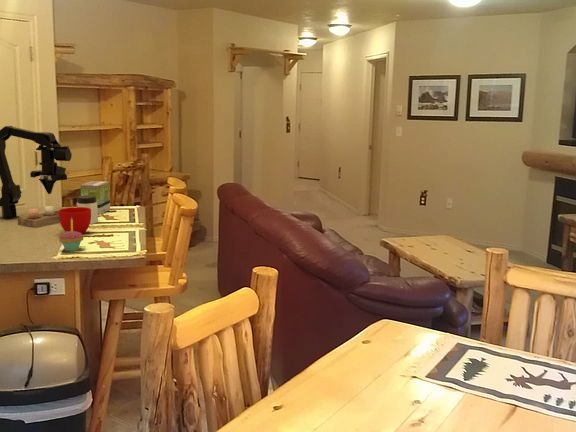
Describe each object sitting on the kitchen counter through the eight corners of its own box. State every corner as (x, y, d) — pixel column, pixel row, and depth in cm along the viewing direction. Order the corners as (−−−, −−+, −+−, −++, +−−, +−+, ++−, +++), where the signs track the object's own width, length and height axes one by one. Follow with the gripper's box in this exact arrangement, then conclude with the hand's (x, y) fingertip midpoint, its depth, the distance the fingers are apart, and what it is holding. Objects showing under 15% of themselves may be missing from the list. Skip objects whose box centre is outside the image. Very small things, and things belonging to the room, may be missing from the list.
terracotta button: (27, 218, 268) (26, 209, 267) (34, 216, 271) (34, 208, 270) (32, 219, 266) (32, 210, 265) (40, 217, 269) (40, 208, 268)
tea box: (101, 215, 291) (100, 185, 288) (81, 215, 291) (79, 184, 289) (111, 209, 306) (109, 180, 303) (91, 209, 306) (89, 180, 303)
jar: (100, 223, 273) (99, 197, 270) (83, 225, 267) (81, 198, 265) (93, 220, 279) (91, 194, 277) (75, 222, 274) (74, 196, 272)
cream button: (43, 215, 275) (42, 206, 274) (50, 213, 278) (50, 205, 277) (49, 216, 273) (48, 207, 272) (56, 214, 276) (56, 206, 275)
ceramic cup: (79, 227, 264) (78, 204, 262) (97, 233, 252) (96, 210, 250) (50, 231, 255) (48, 208, 253) (68, 238, 243) (66, 214, 241)
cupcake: (63, 247, 229) (61, 216, 227) (86, 246, 230) (84, 216, 227) (57, 252, 221) (54, 220, 218) (80, 252, 221) (78, 220, 219)
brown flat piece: (18, 224, 269) (17, 218, 268) (64, 215, 290) (63, 209, 289) (35, 227, 262) (34, 220, 262) (81, 218, 284) (80, 211, 283)
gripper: (76, 160, 278) (77, 193, 281) (48, 157, 287) (50, 189, 290) (56, 162, 268) (57, 196, 272) (28, 159, 277) (30, 192, 281)
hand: (49, 193), depth 279 cm, fingers closed
